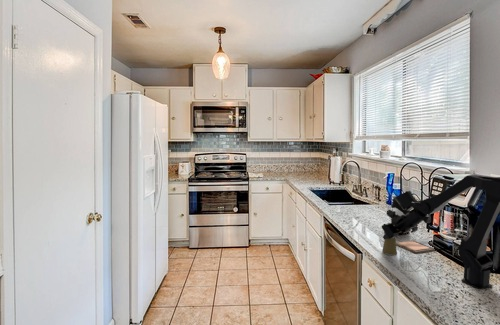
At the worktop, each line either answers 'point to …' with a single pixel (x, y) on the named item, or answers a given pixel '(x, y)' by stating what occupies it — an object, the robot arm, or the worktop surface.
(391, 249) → the cork
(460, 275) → the worktop surface
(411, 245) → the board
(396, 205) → the portable speaker
